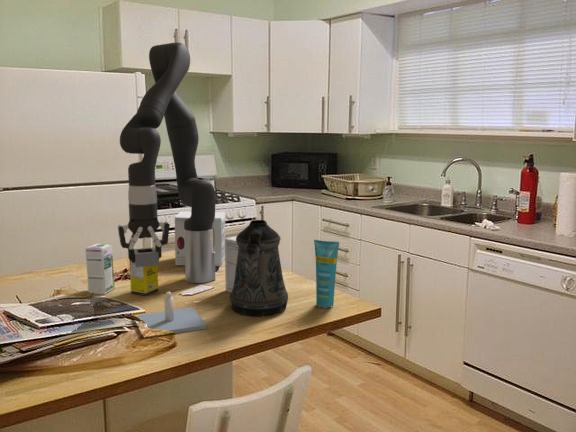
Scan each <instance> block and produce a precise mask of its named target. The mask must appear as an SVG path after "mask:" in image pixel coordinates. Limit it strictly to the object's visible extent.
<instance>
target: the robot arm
mask: <svg viewBox="0 0 576 432" xmlns="http://www.w3.org/2000/svg"><path fill="white" fill-rule="evenodd" d="M148 53H149V54H148V60H149V64H150V65H149V67H150V69H151V70H150V71H151V73H152V75H153V80H154V84H153V85H152V86H151V87H150V88H149V89H148V90H147V91H146V93H145V94H144V95H143V97H142V99H141V101H140V103H139V106H138V108H137V112H136V113H135V114H134V115H133V116H132V117H131V119H130V120H128V122H127V123H126V125H125V126H124V127H123V128H122V131H121V133H120V135H119V144H120V147H121V150H122V151H124V152H125V153H126V154H130V155H133V154H134V155H135V154H139V155H143V156H142V159H141V161H138V162H133V163H130V164H129V166H128V167H127V168H128V169H127V171H128V173H127V174H128V175H127V176H128V192H127V194H128V195H127V196H128V218H129V220H128V223H127V224H125V225H121V224H119V225H117V230H118V237H119V238H118V239H119V243H120V244H119V245H120V246H121V248H122V249H126V250H127V254H128V260H130V261H131V262H132V263H134V249H135V248H134V247H135V245H136V243H137V242H138V240H139V239H144V238H146V239H152V240H153V242H154V244H155V245H154V248H155V249H156V250H157V251H158V255H159V259H161V258H162V247H163V246H164V245H167V244H168V243H169V233H170V223H168V222H167V221H163V222H159V219H158V218H159V217H158V195H157V188H156V166H157V161H158V156H159V152H160V148H161V142H162V139H161V135H160V132H158V130H157V129H158V128H159V127H160V125H162V122H163V119H164V122H165V127H166V132H167V136H168V141H169V144H170V149H171V153H172V155H171V156H172V159H173V164H174V168H175V177H176V178H175V179H176V186H177V193H178V197H179V200H180V202H181V204H183V205H184V206H185V207H189V208H191V210H190V211H191V217H190V218H188V219H186V220H185V221H184V243H185V265H184V272H185V273H184V276H185V279H184V280H185V281H186V282H188V283H192V284H202V283H203V284H205V283H210V282H211V281H216V266H215V252H214V251H213V222H214V219H215V212H216V201H217V199H216V198H217V196H216V195H217V194H216V190H215V187H214V185H213V184H212V183H211V182H210V181H208V180H203V179H199V177H198V174H197V168H196V163H195V160H196V154H197V149H198V146H199V139H200V138H199V131H198V126H197V122H196V117H195V115H194V113H193V112H192V110H191V109H190V107H189V106H188V105H187V104H186V103H185V102H184V101H183V99H182V98H181V97H180V96H179V95H178V93H177V89H178V88H179V86H180V85H181V82H182V81H183V80H184V78H185V76H186V74H187V73H188V71H189V69H190V66H191V54H190V51H189V49H188V48H187V46H186V44H184V43H182V42H171V43H163V44H157V45H153V46H151V48H150V50H149V52H148ZM159 228H160V229H161V231H162V234H161V235H162V237H161V239H159V237H158V235H157V234H156V232H157V230H158V229H159ZM127 230H129V231H130V232H131V235H130V239H129V241H128V242H127V241H126V236H125V234H127V232H128V231H127Z"/></svg>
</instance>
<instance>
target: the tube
mask: <svg viewBox="0 0 576 432" xmlns="http://www.w3.org/2000/svg"><path fill="white" fill-rule="evenodd" d="M313 243H314V252H315V253H314V255H315V256H314V257H315V281H316V284H315V287H316V289H315V291H316V296H315V297H316V298H315V299H316V301H315V302H316V304H317V305H316V306H317V307H319V306H320V307H319V308H321V307H330V308H332V307H334V301H335V290H336V289H335V287H336V277H337V262H338V253H339V249H340V248H339V247H340V241H336V240H335V241H331V240H328V241H327V240H320V239H313ZM331 306H332V307H331Z"/></svg>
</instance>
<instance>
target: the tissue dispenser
mask: <svg viewBox="0 0 576 432" xmlns="http://www.w3.org/2000/svg"><path fill="white" fill-rule="evenodd" d="M133 249H134V265H135V266H136V267H140V266H150V265H157V266H158V265H159V264H160V262H159V261H160V258H159V255H158V251H157V250H156V249H155V246H154V247H144V248H133Z"/></svg>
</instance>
